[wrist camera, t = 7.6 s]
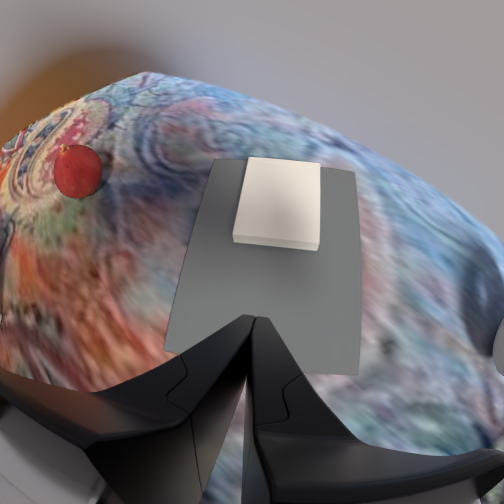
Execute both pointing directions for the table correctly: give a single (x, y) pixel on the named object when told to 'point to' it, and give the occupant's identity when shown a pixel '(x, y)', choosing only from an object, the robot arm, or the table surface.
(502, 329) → the donut
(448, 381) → the table surface
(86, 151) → the onion
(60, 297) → the table surface
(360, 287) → the mat
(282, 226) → the tile
